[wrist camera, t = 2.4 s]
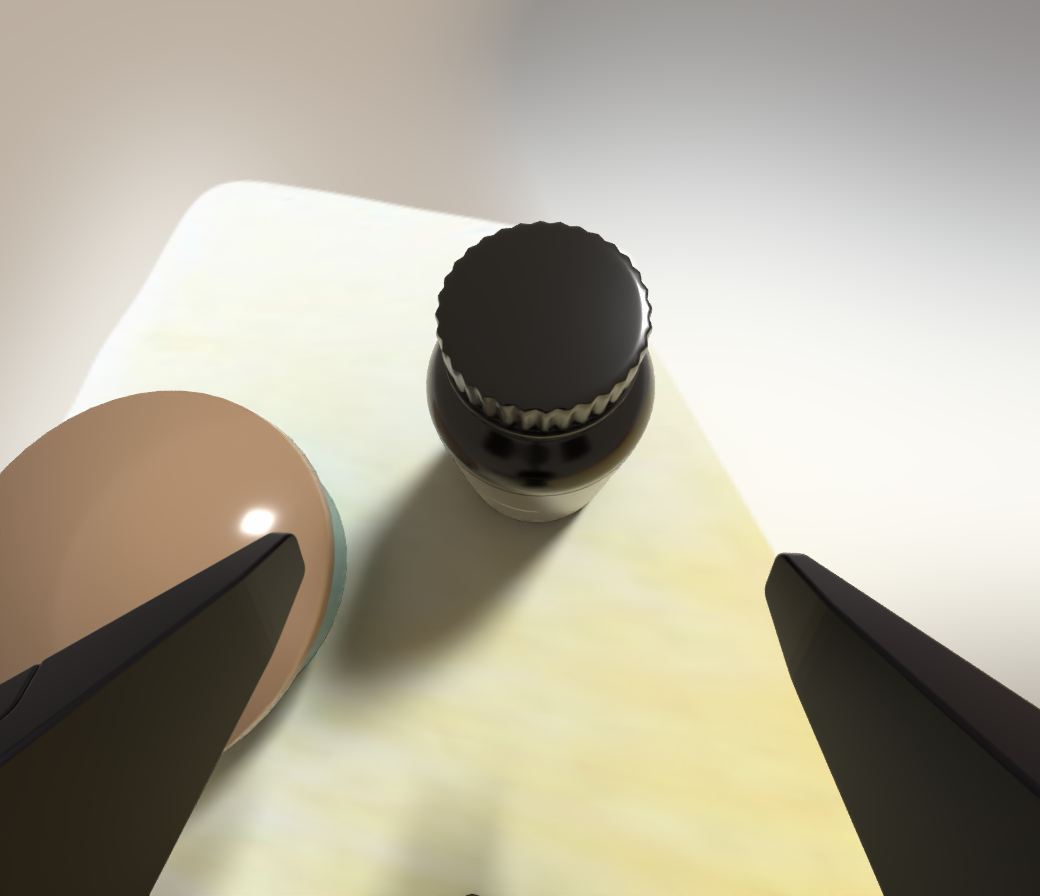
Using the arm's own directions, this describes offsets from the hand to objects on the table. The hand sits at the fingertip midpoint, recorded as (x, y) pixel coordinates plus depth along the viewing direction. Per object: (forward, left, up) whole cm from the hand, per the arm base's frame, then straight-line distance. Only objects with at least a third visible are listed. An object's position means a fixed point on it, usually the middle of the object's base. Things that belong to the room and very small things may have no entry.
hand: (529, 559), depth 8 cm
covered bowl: (-5, +13, -12) cm, 19 cm away
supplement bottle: (+5, +1, -12) cm, 13 cm away
